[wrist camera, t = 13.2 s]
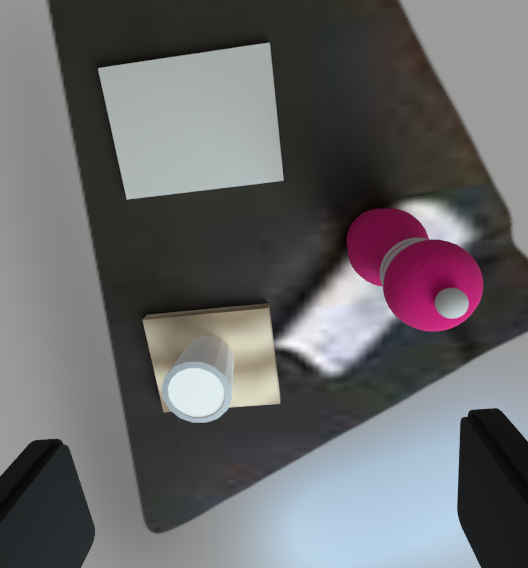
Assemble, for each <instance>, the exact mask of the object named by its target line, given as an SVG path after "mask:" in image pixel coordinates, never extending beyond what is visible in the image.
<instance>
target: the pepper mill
mask: <svg viewBox="0 0 528 568" xmlns="http://www.w3.org/2000/svg"><path fill="white" fill-rule="evenodd" d="M347 248H348V257H349V260H350V263H351V265H352V267H353V268H354V270H355V271H356V272H357V273H358V274H359V275H360V276H361V277H362V278H363V279H365V280H366V281H368V282H370V283H372V284H374V285H378V286H383V291H384V296H385V299H386V302H387V304H388V306H389V308H390V309H391V311H392V312H393V313H394V315H395V316H396V317H398V318H399V319H400V320H401V321H403V322H404V323H405V324H407V325H409V326H411V327H413V328H416V329H419V330H424V331H443V330H447V329H450V328H452V327H455V326H457V325H459V324H460V323H462V322H463V321H465V320H466V319H467V318H468V317H469V316H470V315H471V314H472V313H473V311H474V310H475V309H476V307H477V305H478V304H479V302H480V299H481V296H482V293H483V279H482V274H481V271H480V269H479V267H478V264H477V263H476V261H475V260H474V259H473V258H472V256H471V255H470V254H469V253H468V252H466V251H465V250H464V249H462V248H461V247H459V246H458V245H456V244H453V243H450V242H447V241H443V240H429V238H428V235H427V233H426V230H425V228H424V227H423V226H422V224H421V223H420V222H419V221H418V220H417V219H416V218H415V217H413V216H412V215H411V214H409V213H407V212H405V211H402V210H399V209H372V210H369V211H366V212H364V213H363V214H361V215H360V216H358V217H357V218H356V219H355V220H354V222H353V223H352V224H351V226H350V228H349V230H348V233H347Z"/></svg>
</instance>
